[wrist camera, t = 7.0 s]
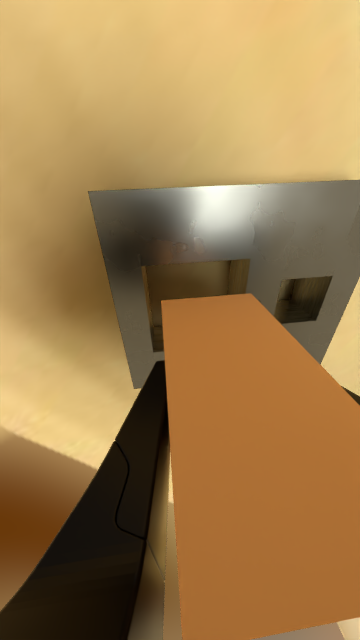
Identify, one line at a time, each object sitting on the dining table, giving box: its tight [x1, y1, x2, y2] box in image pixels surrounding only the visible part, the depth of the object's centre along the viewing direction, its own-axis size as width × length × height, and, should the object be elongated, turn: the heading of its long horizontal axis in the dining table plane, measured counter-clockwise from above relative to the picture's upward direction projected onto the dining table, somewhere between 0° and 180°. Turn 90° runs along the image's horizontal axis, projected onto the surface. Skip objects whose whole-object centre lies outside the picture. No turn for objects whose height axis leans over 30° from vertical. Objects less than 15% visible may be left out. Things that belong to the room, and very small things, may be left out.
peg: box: [161, 293, 360, 640], centre depth 7 cm, size 4×4×8 cm
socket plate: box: [88, 180, 360, 389], centre depth 13 cm, size 14×12×3 cm
